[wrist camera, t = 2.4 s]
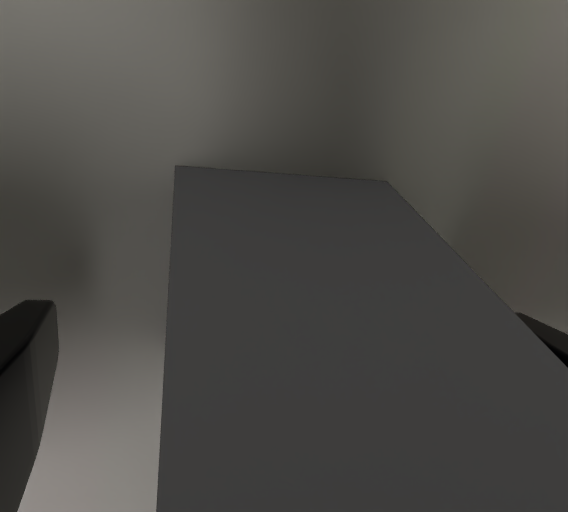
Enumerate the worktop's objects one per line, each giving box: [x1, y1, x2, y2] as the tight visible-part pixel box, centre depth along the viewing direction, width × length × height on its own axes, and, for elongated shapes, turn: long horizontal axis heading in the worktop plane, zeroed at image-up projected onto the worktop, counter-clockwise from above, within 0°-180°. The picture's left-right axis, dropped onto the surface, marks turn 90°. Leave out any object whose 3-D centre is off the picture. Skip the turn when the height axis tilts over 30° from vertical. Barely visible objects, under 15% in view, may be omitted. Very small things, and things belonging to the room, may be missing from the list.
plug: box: [156, 166, 568, 512], centre depth 7 cm, size 4×4×9 cm
